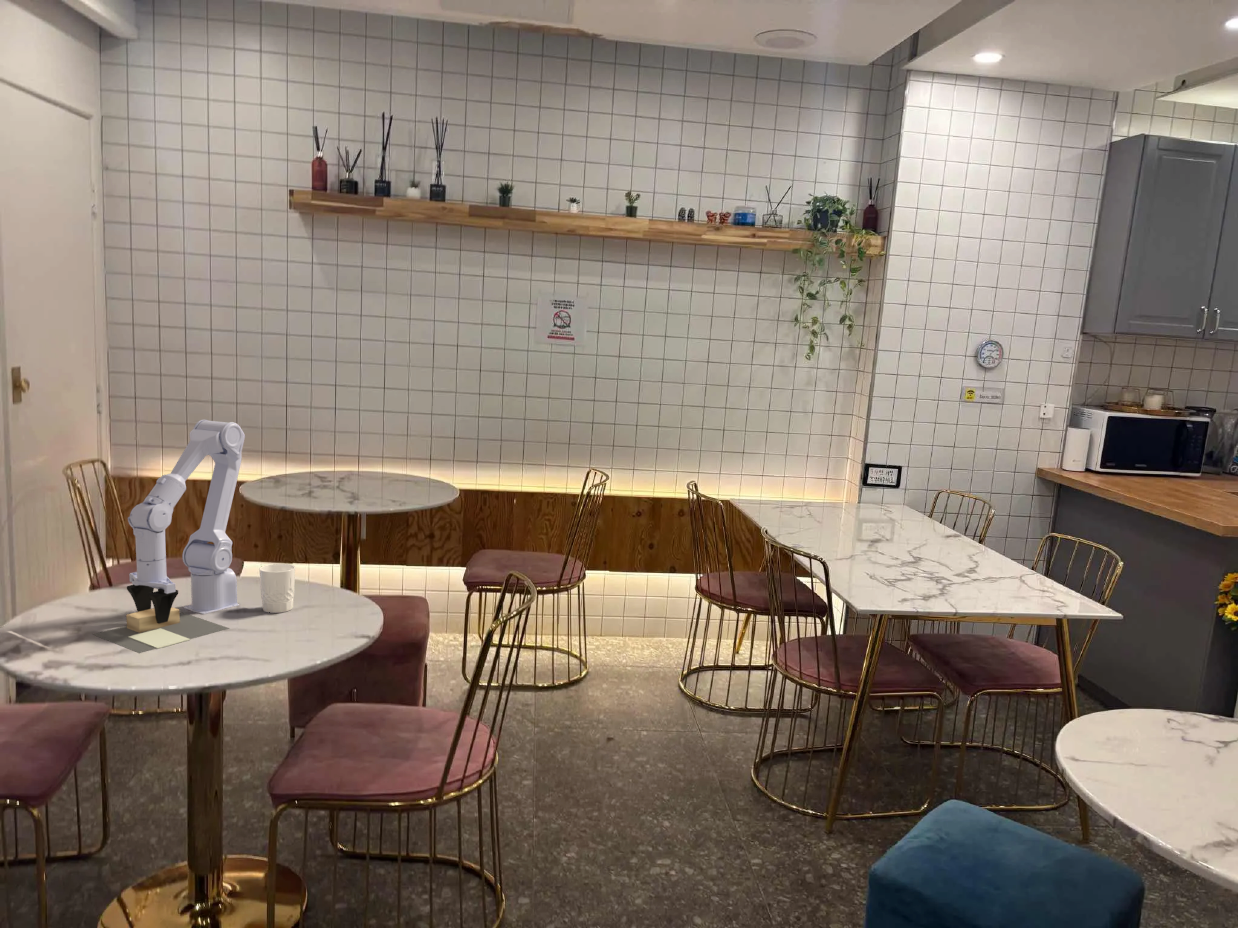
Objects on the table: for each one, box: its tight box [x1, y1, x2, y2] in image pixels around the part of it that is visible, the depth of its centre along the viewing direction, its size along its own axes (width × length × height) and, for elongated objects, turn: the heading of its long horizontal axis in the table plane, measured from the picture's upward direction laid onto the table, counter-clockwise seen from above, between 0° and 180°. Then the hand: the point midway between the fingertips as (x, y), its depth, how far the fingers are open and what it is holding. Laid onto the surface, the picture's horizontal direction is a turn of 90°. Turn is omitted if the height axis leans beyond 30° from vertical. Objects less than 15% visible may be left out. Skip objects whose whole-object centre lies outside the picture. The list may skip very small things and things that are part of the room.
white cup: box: [258, 563, 296, 614], centre depth 214 cm, size 8×8×10 cm
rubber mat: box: [92, 612, 230, 654], centre depth 195 cm, size 20×18×1 cm
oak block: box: [125, 606, 181, 633], centre depth 198 cm, size 9×5×3 cm, turn 147°
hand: (153, 619), depth 198 cm, fingers open, 6 cm apart
